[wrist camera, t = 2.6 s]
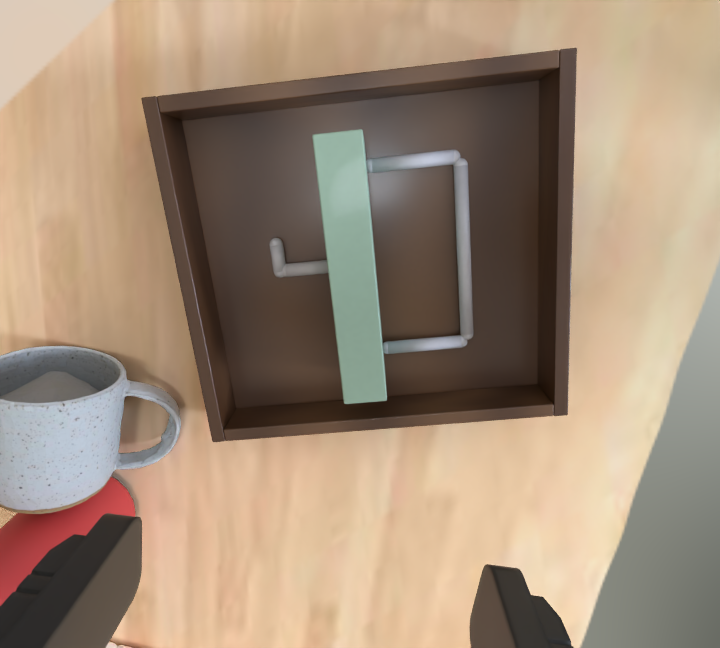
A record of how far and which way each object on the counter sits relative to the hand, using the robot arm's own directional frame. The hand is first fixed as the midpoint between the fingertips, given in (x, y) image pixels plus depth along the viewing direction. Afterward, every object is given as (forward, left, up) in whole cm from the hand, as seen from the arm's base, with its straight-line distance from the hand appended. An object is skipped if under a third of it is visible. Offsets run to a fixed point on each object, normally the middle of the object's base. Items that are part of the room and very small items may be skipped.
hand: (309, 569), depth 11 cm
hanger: (-1, -4, -20) cm, 20 cm away
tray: (-2, -4, -21) cm, 21 cm away
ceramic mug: (+17, +4, -21) cm, 27 cm away
